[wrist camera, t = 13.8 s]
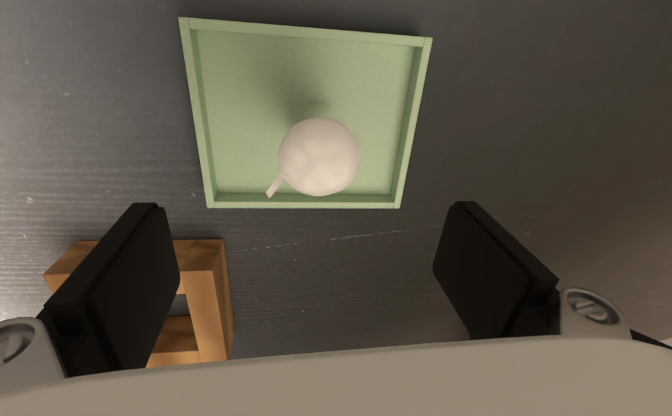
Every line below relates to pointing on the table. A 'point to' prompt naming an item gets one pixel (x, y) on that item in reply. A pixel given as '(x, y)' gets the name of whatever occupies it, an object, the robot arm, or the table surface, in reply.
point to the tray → (292, 91)
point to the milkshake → (316, 153)
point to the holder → (202, 296)
